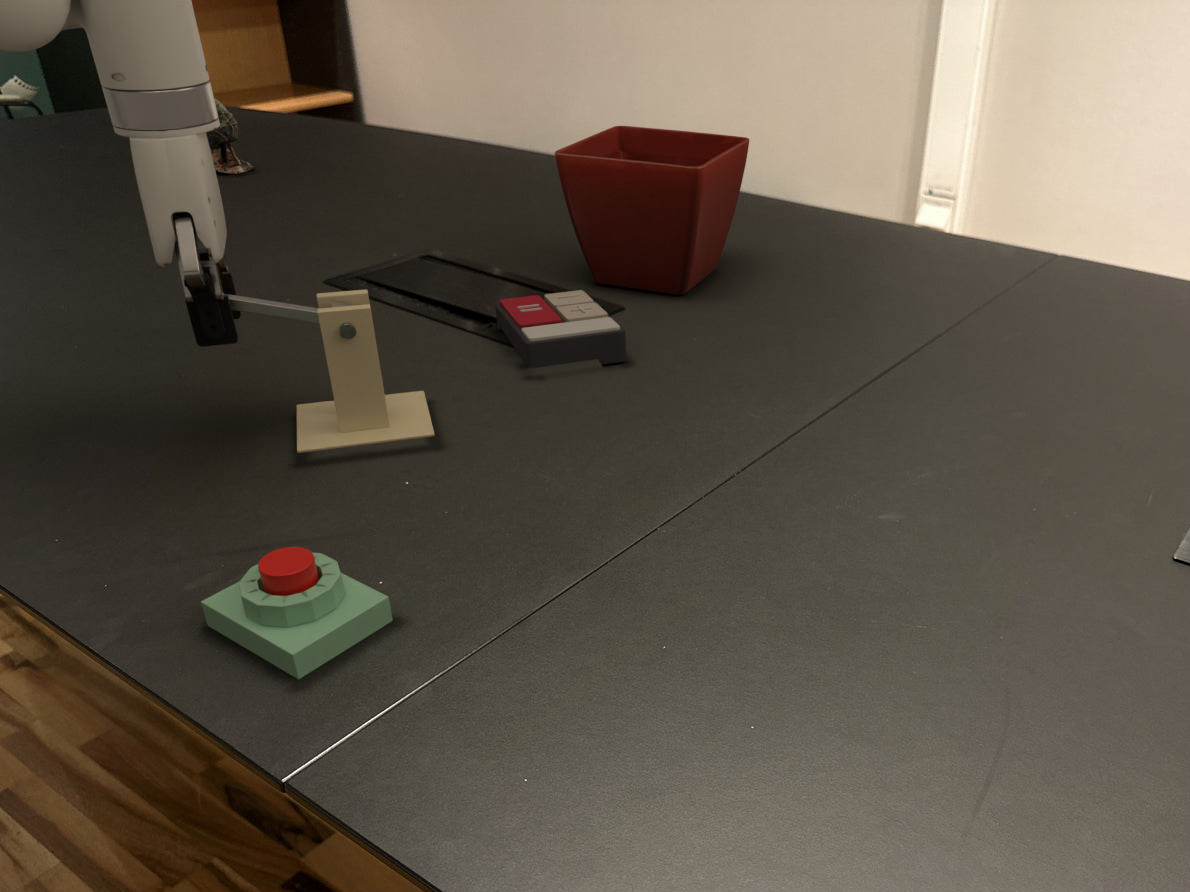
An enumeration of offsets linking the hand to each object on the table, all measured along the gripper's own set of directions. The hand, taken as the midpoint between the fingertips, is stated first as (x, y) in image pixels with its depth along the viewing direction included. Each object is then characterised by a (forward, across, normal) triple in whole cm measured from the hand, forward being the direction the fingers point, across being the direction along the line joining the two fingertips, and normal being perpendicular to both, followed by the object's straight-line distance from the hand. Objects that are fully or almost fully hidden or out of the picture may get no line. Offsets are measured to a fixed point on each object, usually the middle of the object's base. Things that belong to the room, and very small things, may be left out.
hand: (219, 329), depth 91 cm
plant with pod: (+11, -108, -7) cm, 109 cm away
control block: (+11, +30, +4) cm, 32 cm away
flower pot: (+12, -36, +49) cm, 62 cm away
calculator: (+12, -16, +32) cm, 38 cm away
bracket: (+11, 0, +10) cm, 15 cm away
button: (+8, +30, +4) cm, 31 cm away
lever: (0, 0, +5) cm, 5 cm away
